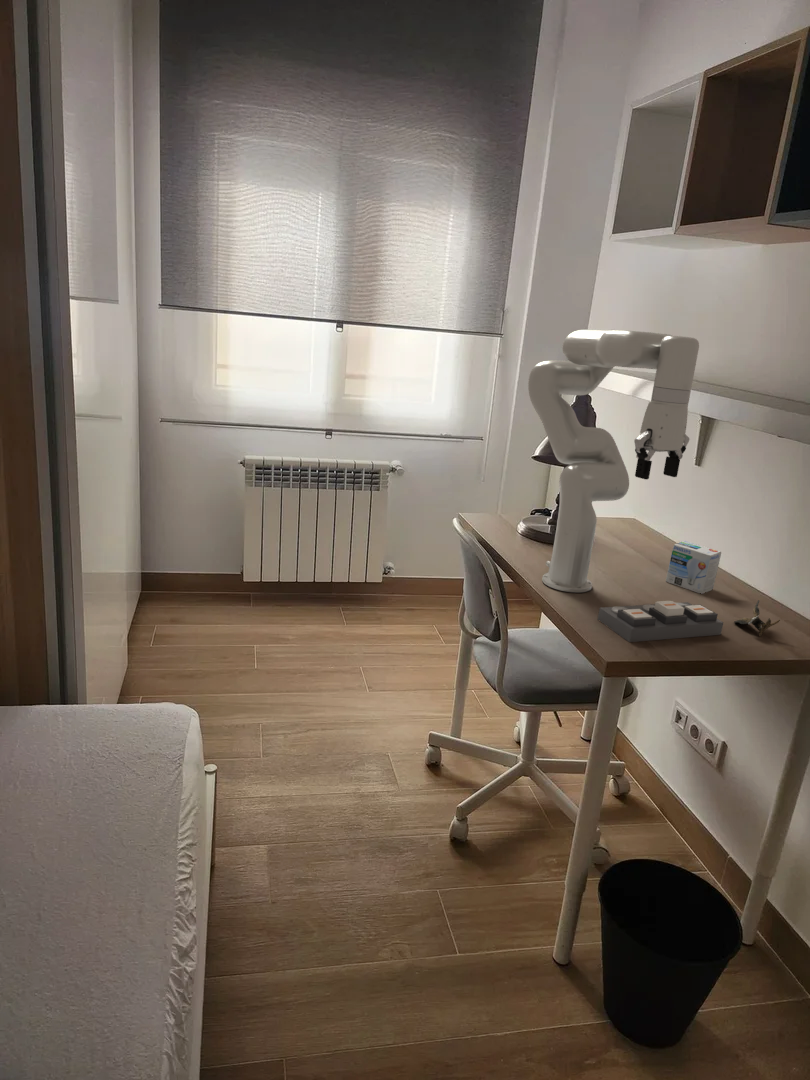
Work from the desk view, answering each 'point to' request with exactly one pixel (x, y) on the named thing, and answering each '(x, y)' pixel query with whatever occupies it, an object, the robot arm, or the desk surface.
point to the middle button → (669, 608)
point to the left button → (637, 613)
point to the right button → (698, 609)
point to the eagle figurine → (757, 621)
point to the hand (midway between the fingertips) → (656, 476)
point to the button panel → (659, 623)
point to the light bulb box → (693, 567)
